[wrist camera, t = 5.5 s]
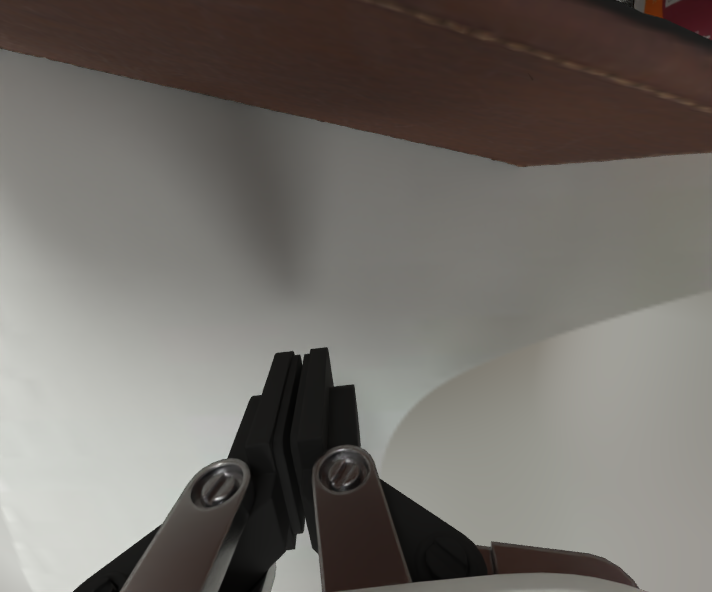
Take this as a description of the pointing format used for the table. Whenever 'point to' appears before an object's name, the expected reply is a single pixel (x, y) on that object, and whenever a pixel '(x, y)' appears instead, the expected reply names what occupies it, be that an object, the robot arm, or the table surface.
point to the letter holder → (410, 67)
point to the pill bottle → (681, 13)
